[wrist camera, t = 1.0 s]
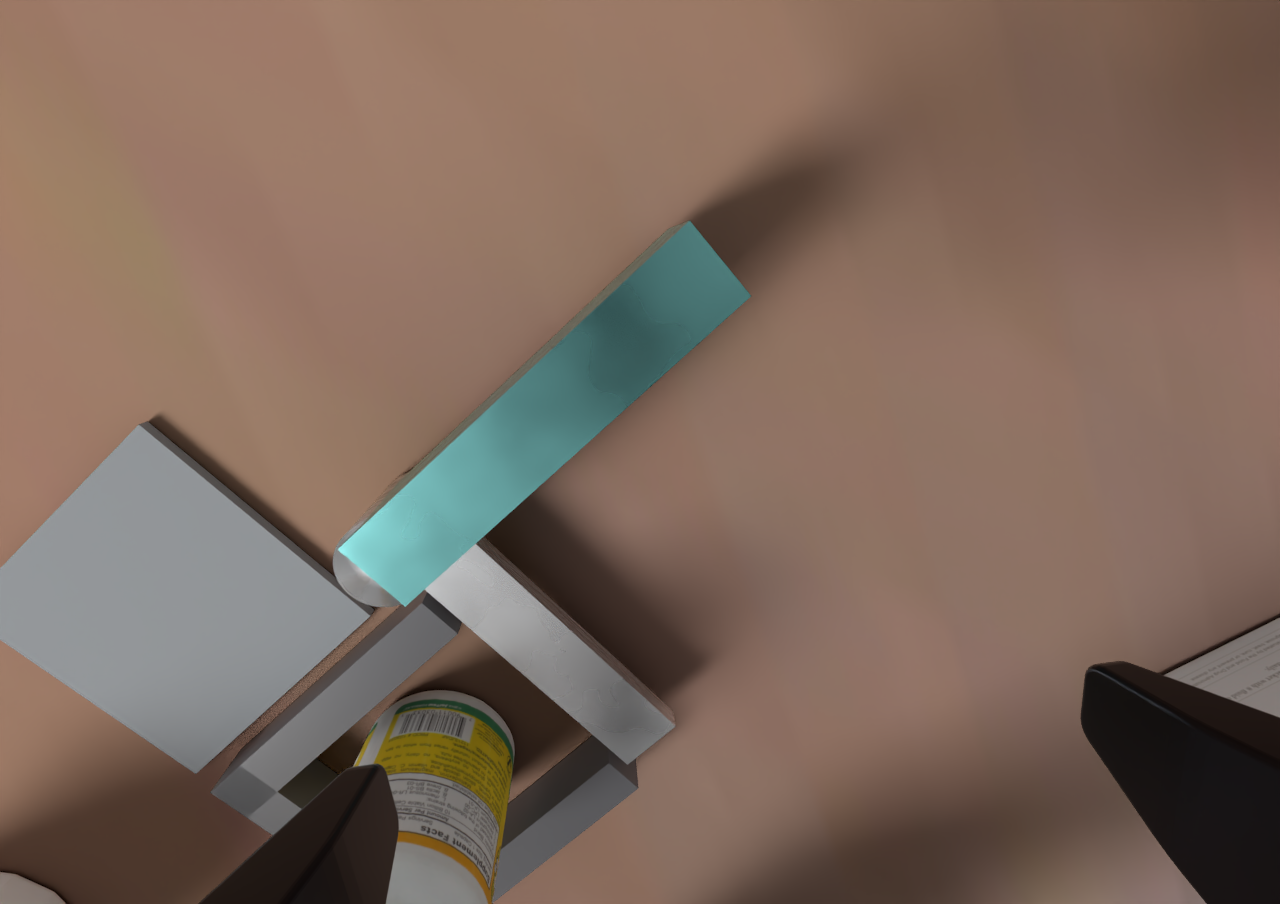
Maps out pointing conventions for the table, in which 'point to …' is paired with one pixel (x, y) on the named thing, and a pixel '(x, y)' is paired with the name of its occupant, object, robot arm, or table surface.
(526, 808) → the socket block
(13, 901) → the white cup
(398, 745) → the supplement bottle
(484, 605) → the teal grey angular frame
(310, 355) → the table surface
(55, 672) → the mat
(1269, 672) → the supplement box
